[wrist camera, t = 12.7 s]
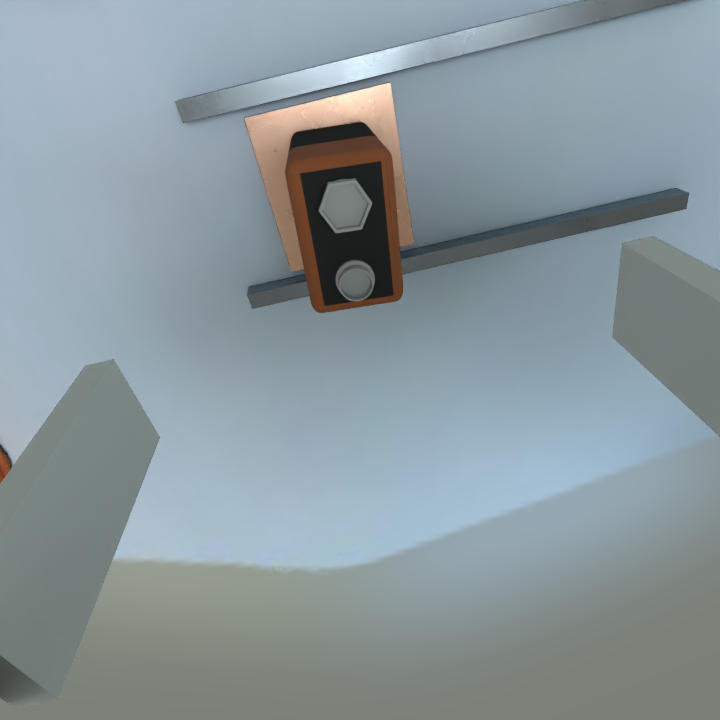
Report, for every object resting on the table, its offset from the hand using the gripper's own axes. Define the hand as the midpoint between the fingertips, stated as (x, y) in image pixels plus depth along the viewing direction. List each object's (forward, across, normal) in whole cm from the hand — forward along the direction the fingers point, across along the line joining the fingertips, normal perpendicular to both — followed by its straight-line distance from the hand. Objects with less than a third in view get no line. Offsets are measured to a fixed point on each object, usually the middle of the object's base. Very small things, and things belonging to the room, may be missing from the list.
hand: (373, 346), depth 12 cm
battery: (+18, 0, 0) cm, 18 cm away
